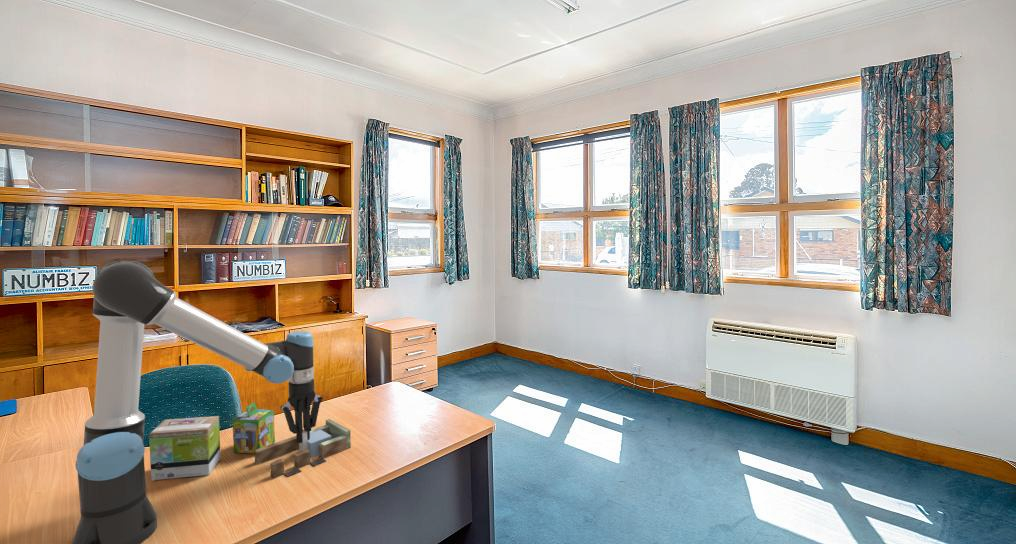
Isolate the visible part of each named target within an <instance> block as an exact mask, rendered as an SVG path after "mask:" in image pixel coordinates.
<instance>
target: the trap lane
mask: <svg viewBox="0 0 1016 544" xmlns="http://www.w3.org/2000/svg"><path fill="white" fill-rule="evenodd" d="M311 429H312V430H311V431H310V433H312V432H315V431H318V430H322V431H324V432H326V433H327V434H329V435H331V440H328V441H325V442H323V443H320V445H319V455H318V457H319V459H316V460H314V461H311V458H310V451H308V450H307V449H306V450H304V451H298V450H299V443H298V442H297V440H296V435H293V436H291V437H289V438H287V439H283V440H280V441H277V442H274V443H273V444H271V445H268V446H265V447H262V448H259V449H256V450H254V463H255V464H256V465H260V464H264V463H266V462H268V461H271V460H274V459H277V458H279V457H282V456H285V455H288V454H291V453H293V452H296V451H298V452H297V453H294V454H293V459H294V461H293V462H294V463H293V466H294V467H295V468H294V469H291V470H289V471H286V472H285V461H284V460H282V459H281V458H279V459H277V460H275V461H271V462H270V464H269V465H270V477H272V478H273V479H275V478H278V477H280V476H283V475H284V476H286V477H287V478H289V477H292V476H294V475H297V474H298V473H299V474H300V473H302V470H301V468H303V467H305V466H308V465H311V466H313V467H316V466H319V465H321V464H324V463H326V462H327V460H326V459H325V458H328V457H330V456H333V455H335V454H338V453H340V452H342V451H346V450H348V449H351V447H352V443H351V442H352V441H351V430H350V429H348V428H347V427H345V426H343V425H342V424H340V423H338V422H336V421H335V420H333V419H331V418H328V419H325V424H323V425H321V426H318V427H314V428H311Z"/></svg>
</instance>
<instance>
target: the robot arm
mask: <svg viewBox="0 0 1016 544" xmlns="http://www.w3.org/2000/svg"><path fill="white" fill-rule="evenodd" d="M94 277H95V278H94V280H93V282H92V295H93V303H92V305H93V306H92V315H93V317H95V318H97V319H98V320H99V336H98V337H99V338H98V351H97V352H98V353H97V364H96V367H97V368H96V378H95V379H96V380H95V393H94V396H95V397H94V410H93V411H94V412H93V415H92V416H91V417H89V419H87V420H86V421H85V423H84V435H83V444H82V446H81V447H80V449H79V450H78V452H77V455H76V460H75V469H76V472H77V482H78V491H79V492H78V493H79V495H78V496H79V508H80V518H79V521H78V524H77V526H76V530H75V532H74V536H73V539H72V543H71V544H141V543H143V542H144V541H146V540H147V539H148V538H150V537H151V536H152V534H154V532H155V531H156V530H157V527H158V515H157V512H156V510H155V509H154V507H153V505H152V504H151V502H150V500H149V499H148V496H147V486H146V468H145V444H144V438H145V437H144V436H145V421H146V415H145V414H144V413H143V412H141V411H140V410H139V402H140V393H141V392H140V390H141V378H142V377H141V375H142V362H143V349H144V348H143V347H144V336H145V326H151V325H156V326H158V327H160V328H162V329H164V330H167V331H168V332H171V333H173V334H175V335H176V336H179V337H180V338H183V339H185V340H187V341H190V342H191V343H194V344H195V345H198V346H200V347H201V348H204V349H206V350H208V351H210V352H212V353H214V354H217V355H219V356H221V357H222V358H225V359H226V360H229V361H231V362H234V363H236V365H239V366H242V367H243V368H244V370H245V371H246V372H253V373H255V374H257V375H260V376H261V377H264V379H265V380H266V381H268V382H269V383H273V384H282V383H284V382H285V383H286V382H287V381H288V383H287V384H288V398H287V402H286V403H285V404H284V405H280V410H281V411H282V412H283V414H284V417H285V420H286V423H287V426H288V429H289V432H291V433H292V434H295V436H296V440H297V442H298V443H299V449H298V450H299V452H301V451H304V450H306V449H307V450H308V444H307V440H309V439H310V431H311V430H312V429H313V428H316V425H317V421H318V417H319V416H318V415H319V410H320V405H321V403H322V401H323V396H320V395H318V394H317V393H316V392H315V379H314V377H315V369H314V368H315V365H314V346H315V345H314V339H313V334H312V333H311V332H310V331H307V330H297V331H291V332H289V333H287V334H286V338H285V340H281V341H274V342H267V343H266V342H265V343H263V342H261V341H259V340H257V339H256V338H254V337H251V336H250V335H248V334H246V333H244V332H242V331H240V330H238V329H236V328H235V327H233V326H231V325H230V324H227V323H226V322H224V321H222V320H220V319H219V318H216V317H214V316H212V315H210V314H208V313H207V312H205V311H203V310H201V309H199V308H197V307H195V306H194V305H192V304H190V303H188V302H186V301H184V300H182V299H180V298H178V297H177V294H176V291H175V290H173V289H171V288H169V287H168V286H166V285H164V284H163V283H161V282H160V281H159V280H157V279H156V278H155V274H154V273H153V271H152V270H151V269H150V268H149V267H148V266H146V265H144V264H143V263H141V262H138V261H135V260H133V261H132V260H117V261H113V262H109V263H107V264H105V265H104V266H102V268H101V269H99V270H98V272H97V273H96V275H95V276H94ZM291 408H293V412H294V417H293V414H292V411H291Z"/></svg>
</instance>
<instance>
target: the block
mask: <svg viewBox="0 0 1016 544" xmlns="http://www.w3.org/2000/svg"><path fill="white" fill-rule="evenodd" d="M328 440H331V435H329V434H327V433H326V432H324V431H322V430H318V431H315V432H312V433H310V439H309V440H307V444H308V451H310V459H312V458H315V457H317V456H318V457H319V445H320V443H323V442H325V441H328Z"/></svg>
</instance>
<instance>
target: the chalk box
mask: <svg viewBox="0 0 1016 544" xmlns="http://www.w3.org/2000/svg"><path fill="white" fill-rule="evenodd" d="M252 408H253V409H252ZM245 409H246V410H245V411H243V412H242V413H240V414H238V415H236V416H235V417H233V418H232V419H231V421H232V438H233V441H232V442H233V453H234V454H252V455H253V454H254V450H256V449H259V448H262V447H265V446H268V445H271V444H274V443H276V439H275V438H276V436H275V434H276V433H275V411H274V409H263V408H261V409H260V408H258V407H257V404H256V402H252V403H250V404H249V405H247V406H246V407H245ZM254 455H255V454H254Z"/></svg>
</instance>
